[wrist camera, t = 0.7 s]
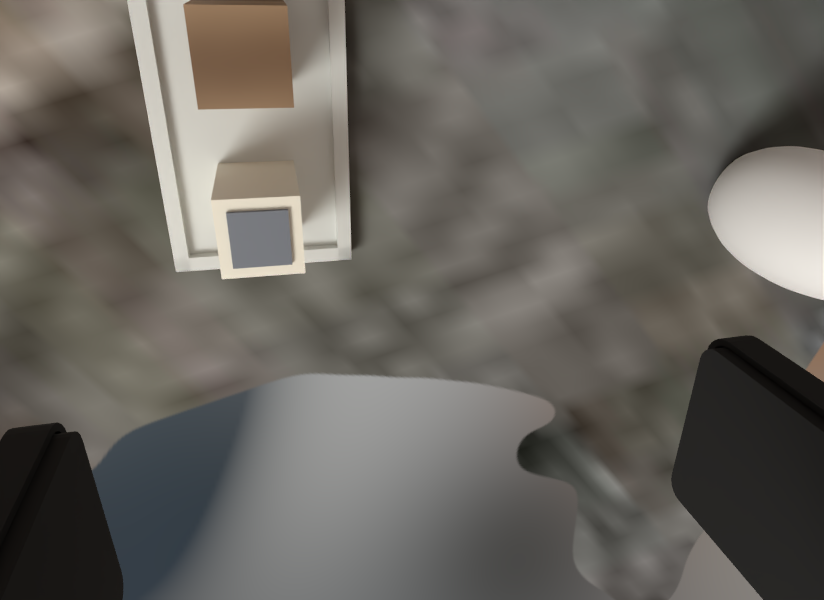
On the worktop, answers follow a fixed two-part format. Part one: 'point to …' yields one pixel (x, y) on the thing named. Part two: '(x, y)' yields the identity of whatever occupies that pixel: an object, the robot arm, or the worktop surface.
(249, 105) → the walnut block
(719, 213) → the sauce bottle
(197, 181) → the tray
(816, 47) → the worktop surface
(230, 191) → the label box
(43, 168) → the worktop surface
